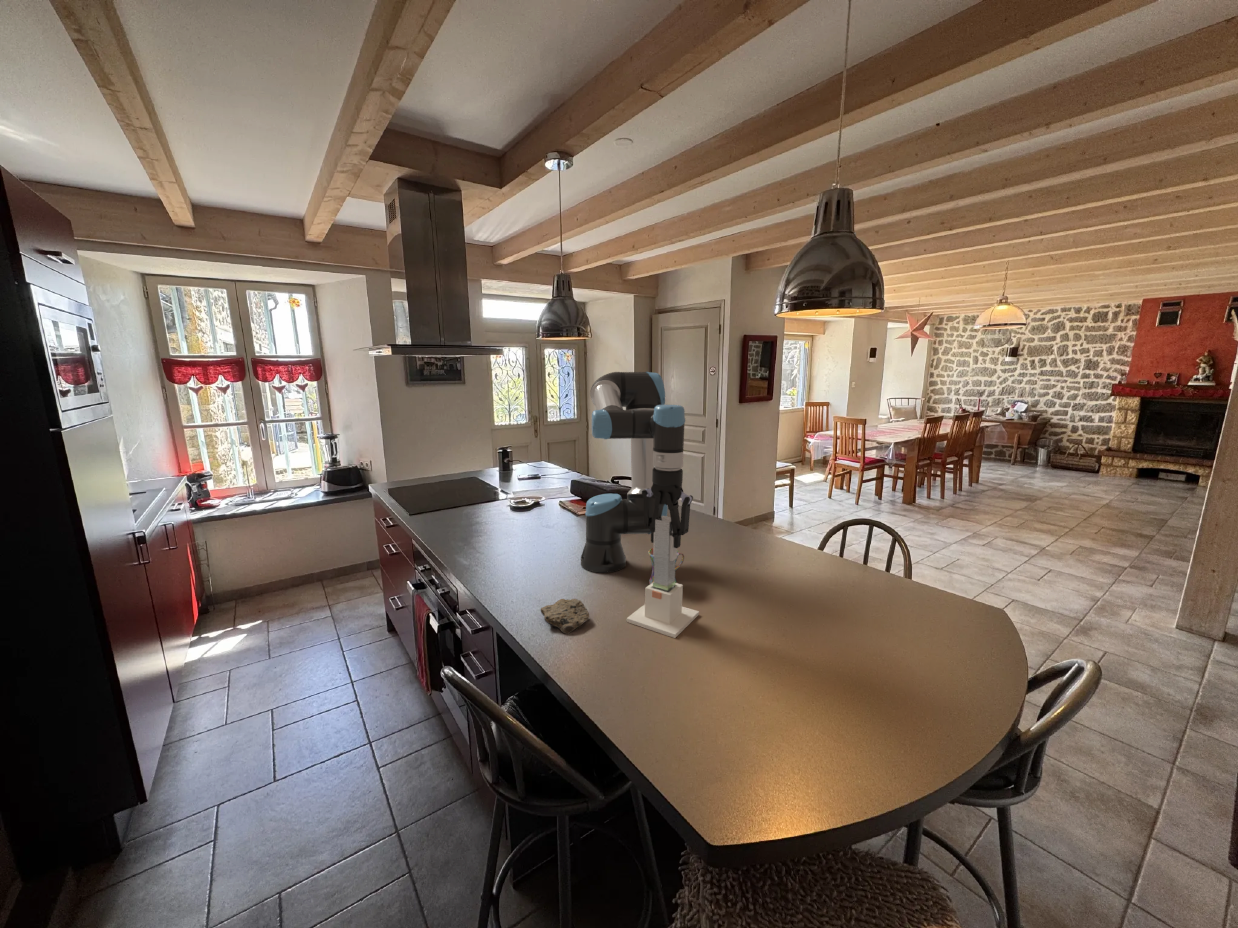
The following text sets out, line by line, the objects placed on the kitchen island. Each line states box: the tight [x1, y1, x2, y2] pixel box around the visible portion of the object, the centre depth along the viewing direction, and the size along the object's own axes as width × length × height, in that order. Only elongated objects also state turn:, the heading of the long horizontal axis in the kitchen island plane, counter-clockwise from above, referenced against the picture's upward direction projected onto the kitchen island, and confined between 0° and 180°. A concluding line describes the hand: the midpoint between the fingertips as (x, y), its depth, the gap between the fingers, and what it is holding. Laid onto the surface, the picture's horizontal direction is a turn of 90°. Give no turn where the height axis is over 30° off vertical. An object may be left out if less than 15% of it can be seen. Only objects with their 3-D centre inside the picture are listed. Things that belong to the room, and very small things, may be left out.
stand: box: [626, 582, 700, 639], centre depth 128 cm, size 14×14×9 cm
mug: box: [647, 547, 685, 585], centre depth 149 cm, size 12×9×11 cm
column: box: [653, 515, 676, 593], centre depth 126 cm, size 4×4×20 cm
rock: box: [540, 598, 590, 634], centre depth 127 cm, size 11×12×4 cm
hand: (665, 556), depth 126 cm, fingers closed on column, 4 cm apart
